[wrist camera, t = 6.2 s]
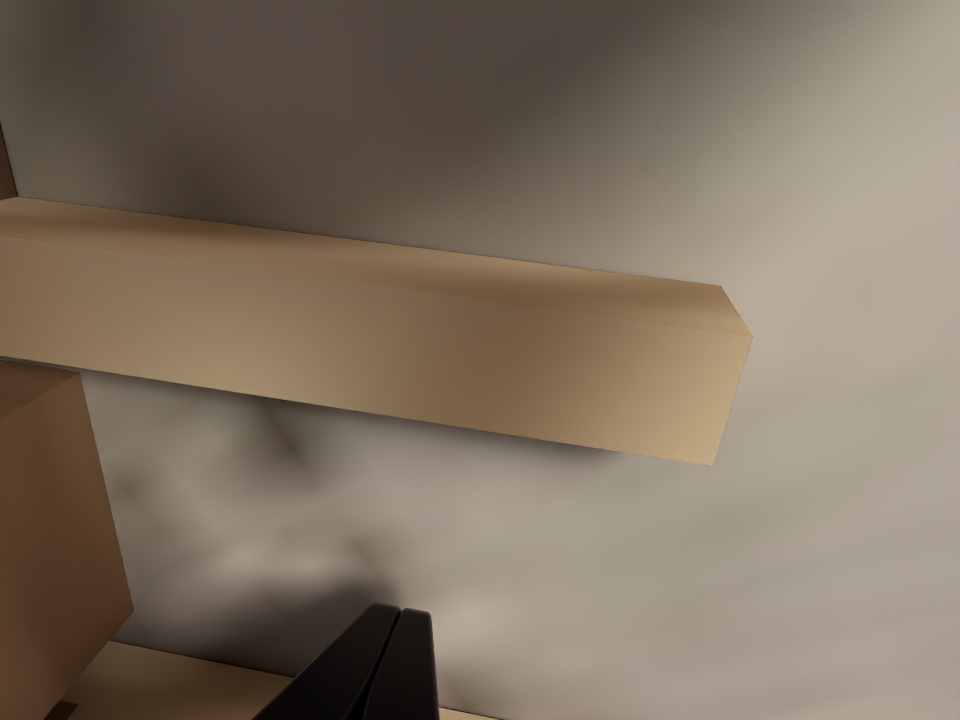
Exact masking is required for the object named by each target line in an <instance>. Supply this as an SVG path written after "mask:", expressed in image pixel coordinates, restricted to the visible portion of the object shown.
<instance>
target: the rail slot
mask: <svg viewBox="0 0 960 720" xmlns="http://www.w3.org/2000/svg"><path fill="white" fill-rule="evenodd" d="M752 337H753V336H752V335H751V333H750V331H749V330H748V328H747V327H746V325H745V324H744V322H743V320H742V319H741V317H740V316H739V314H738V313H737V311H736V309H735V308H734V306H733V305H732V303H731V302H730V300H729V298H728V297H727V295H726V294H725V292H724V291H723V289H722V287H721V286H715V285H707V284H699V283H691V282H684V281H676V280H668V279H660V278H652V277H644V276H636V275H629V274H621V273H613V272H605V271H597V270H589V269H581V268H573V267H566V266H558V265H550V264H542V263H534V262H526V261H518V260H510V259H503V258H495V257H487V256H479V255H471V254H463V253H455V252H447V251H440V250H432V249H424V248H416V247H408V246H400V245H392V244H385V243H377V242H369V241H361V240H353V239H345V238H337V237H329V236H322V235H314V234H306V233H298V232H290V231H282V230H274V229H266V228H259V227H251V226H243V225H235V224H227V223H219V222H211V221H203V220H196V219H188V218H180V217H172V216H164V215H156V214H148V213H140V212H133V211H125V210H117V209H109V208H101V207H93V206H85V205H78V204H70V203H62V202H54V201H46V200H38V199H30V198H22V197H17V195H16V191H15V187H14V182H13V178H12V174H11V170H10V166H9V162H8V158H7V154H6V150H5V146H4V142H3V138H2V134H1V130H0V355H1V356H7V357H13V358H20V359H26V360H33V361H39V362H46V363H52V364H58V365H65V366H71V367H78V368H84V369H91V370H97V371H103V372H110V373H116V374H123V375H129V376H136V377H142V378H148V379H155V380H161V381H168V382H174V383H181V384H187V385H193V386H200V387H206V388H213V389H219V390H226V391H232V392H238V393H245V394H251V395H258V396H264V397H271V398H277V399H283V400H290V401H296V402H303V403H309V404H316V405H322V406H328V407H335V408H341V409H348V410H354V411H360V412H367V413H373V414H380V415H386V416H393V417H399V418H405V419H412V420H418V421H425V422H431V423H438V424H444V425H450V426H457V427H463V428H470V429H476V430H483V431H489V432H495V433H502V434H508V435H515V436H521V437H528V438H534V439H540V440H547V441H553V442H560V443H566V444H573V445H579V446H585V447H592V448H598V449H605V450H611V451H618V452H624V453H630V454H637V455H643V456H650V457H656V458H663V459H669V460H675V461H682V462H688V463H695V464H701V465H708V466H713V464H714V460H715V457H716V454H717V451H718V447H719V444H720V441H721V438H722V434H723V431H724V428H725V425H726V422H727V418H728V415H729V412H730V409H731V405H732V402H733V399H734V396H735V392H736V389H737V386H738V383H739V379H740V376H741V373H742V370H743V366H744V363H745V360H746V357H747V354H748V350H749V347H750V344H751V341H752ZM293 679H294V678H291V677H286V676H281V675H276V674H271V673H266V672H261V671H256V670H251V669H246V668H241V667H236V666H232V665H227V664H222V663H217V662H212V661H207V660H202V659H197V658H192V657H187V656H182V655H177V654H172V653H167V652H162V651H157V650H152V649H148V648H143V647H138V646H133V645H128V644H123V643H118V642H113V641H108V642H107V643H106V645H105V646H104V647H103V648H102V649H101V651H100V652H99V653H98V654H97V655H96V657H95V658H94V659H93V660H92V661H91V663H90V664H89V665H88V666H87V667H86V669H85V670H84V671H83V672H82V673H81V675H80V676H79V677H78V678H77V679H76V681H75V682H74V683H73V684H72V685H71V687H70V688H69V689H68V690H67V691H66V693H65V694H64V695H63V696H62V697H61V699H60V700H59V701H58V702H57V703H56V705H55V706H54V707H53V708H52V710H51V711H50V712H49V713H48V714H47V716H46V717H45V718H44V719H43V720H251V719H252V718H253V717H254V716H255V715H256V714H257V713H258V712H259V711H260V710H261V709H262V708H263V707H264V706H266V705H267V704H268V703H269V702H270V701H271V700H272V699H273V698H274V697H275V696H276V695H277V694H278V693H279V692H280V691H281V690H282V689H283V688H284V687H285V686H286V685H287V684H288V683H289V682H290V681H292V680H293ZM439 714H440V720H498V719H493V718H488V717H484V716H479V715H474V714H469V713H464V712H459V711H454V710H449V709H444V708H439Z"/></svg>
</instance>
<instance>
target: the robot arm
mask: <svg viewBox="0 0 960 720" xmlns="http://www.w3.org/2000/svg"><path fill="white" fill-rule="evenodd" d="M251 720H440V714H439V702H438V690H437V679H436V667H435V655H434V643H433V632H432V620H431V615H430V614H429V613H428V612H426V611H421V610H415V609H410V608H405V609H403V610H402V611H401V608H400V607H398V606H395V605H390V604H385V603H380V602H375V603H372V604H371V605H370V606H368V607H367V608H366V609H365V610H364V611H363V612H362V613H361V614H360V615H359V616H358V617H357V618H356V619H355V620H354V621H353V622H352V623H351V624H350V625H349V626H348V627H347V628H346V629H345V630H343V631H342V632H341V633H340V634H339V635H338V636H337V637H336V638H335V639H334V640H333V641H332V642H331V643H330V644H329V645H328V646H327V647H326V648H325V649H324V650H323V651H322V652H321V653H320V654H319V655H317V656H316V657H315V658H314V659H313V660H312V661H311V662H310V663H309V664H308V665H307V666H306V667H305V668H304V669H303V670H302V671H301V672H300V673H299V674H298V675H297V676H296V677H295V678H294V679H293V680H292V681H290V682H289V683H288V684H287V685H286V686H285V687H284V688H283V689H282V690H281V691H280V692H279V693H278V694H277V695H276V696H275V697H274V698H273V699H272V700H271V701H270V702H269V703H268V704H267V705H266V706H264V707H263V708H262V709H261V710H260V711H259V712H258V713H257V714H256V715H255V716H254V717H253V718H252V719H251Z"/></svg>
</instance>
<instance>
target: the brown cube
mask: <svg viewBox="0 0 960 720" xmlns="http://www.w3.org/2000/svg"><path fill="white" fill-rule="evenodd" d="M133 611H134V609H133V605H132V600H131V596H130V591H129V587H128V583H127V578H126V574H125V570H124V565H123V561H122V556H121V552H120V548H119V543H118V539H117V535H116V530H115V526H114V521H113V517H112V513H111V508H110V504H109V500H108V495H107V491H106V486H105V482H104V478H103V473H102V469H101V465H100V460H99V456H98V451H97V447H96V443H95V438H94V434H93V430H92V425H91V421H90V416H89V412H88V408H87V403H86V399H85V395H84V390H83V386H82V381H81V377H80V373H79V372H74V371H68V370H61V369H55V368H49V367H42V366H36V365H30V364H23V363H17V362H11V361H4V360H0V720H43V719H44V718H45V717H46V716H47V714H48V713H49V712H50V711H51V710H52V708H53V707H54V706H55V705H56V703H57V702H58V701H59V700H60V699H61V697H62V696H63V695H64V694H65V693H66V691H67V690H68V689H69V688H70V687H71V685H72V684H73V683H74V682H75V681H76V679H77V678H78V677H79V676H80V675H81V673H82V672H83V671H84V670H85V669H86V667H87V666H88V665H89V664H90V663H91V661H92V660H93V659H94V658H95V657H96V655H97V654H98V653H99V652H100V651H101V649H102V648H103V647H104V646H105V645H106V643H107V642H108V641H109V640H110V639H111V637H112V636H113V635H114V634H115V633H116V631H117V630H118V629H119V628H120V627H121V625H122V624H123V623H124V622H125V621H126V619H127V618H128V617H129V616H130V615H131V613H132V612H133Z"/></svg>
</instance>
